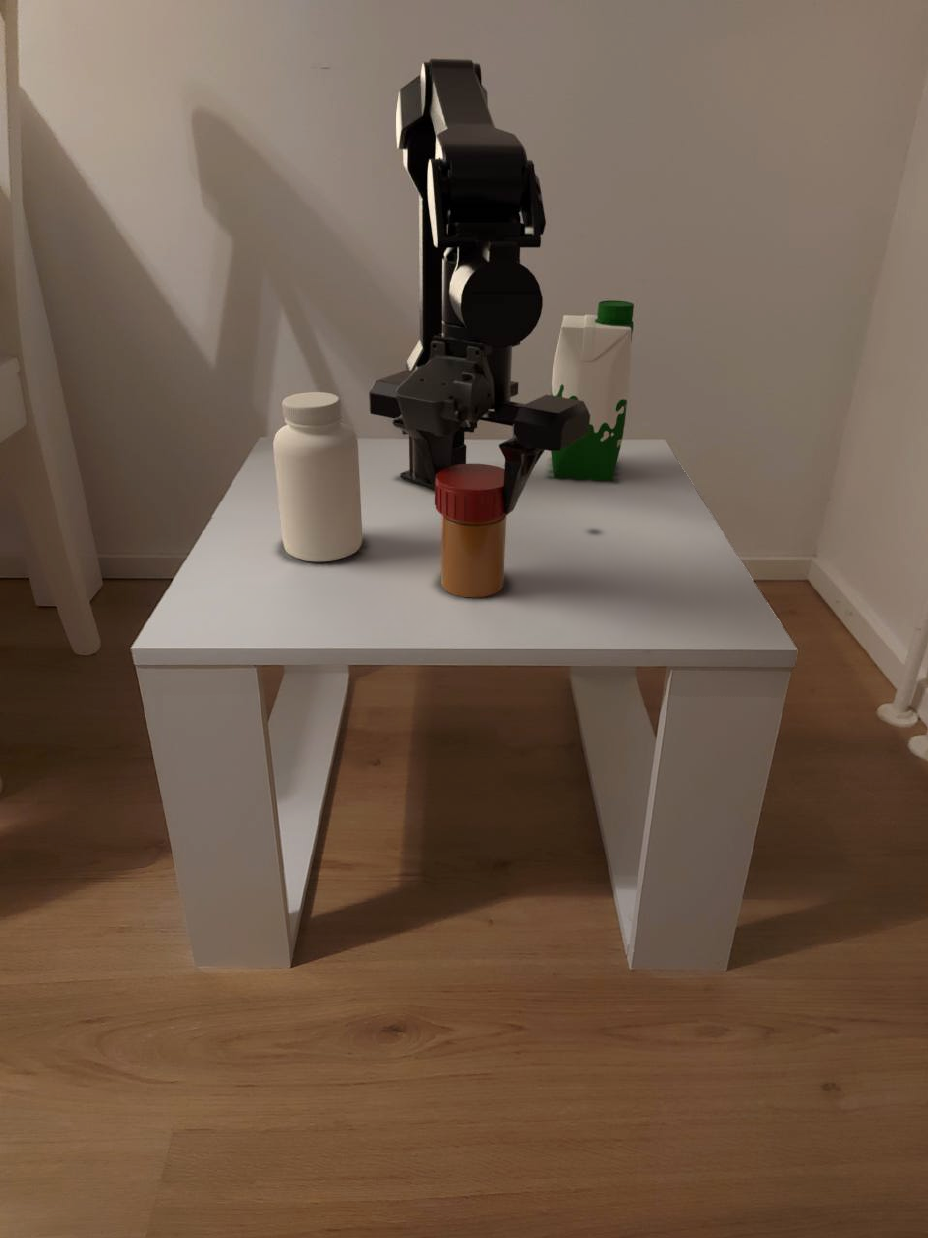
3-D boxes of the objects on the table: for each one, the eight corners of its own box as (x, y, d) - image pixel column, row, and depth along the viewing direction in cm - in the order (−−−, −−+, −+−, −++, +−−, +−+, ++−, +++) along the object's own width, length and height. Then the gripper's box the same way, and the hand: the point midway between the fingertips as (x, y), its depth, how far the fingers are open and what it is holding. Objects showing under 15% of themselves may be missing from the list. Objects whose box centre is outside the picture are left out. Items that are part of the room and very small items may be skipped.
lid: (466, 487, 81) (467, 458, 80) (527, 505, 78) (529, 474, 76) (419, 509, 77) (418, 477, 75) (482, 528, 73) (482, 496, 72)
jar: (428, 583, 81) (427, 485, 76) (469, 564, 84) (471, 469, 80) (474, 604, 77) (477, 502, 73) (516, 583, 81) (520, 485, 76)
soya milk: (619, 484, 104) (638, 310, 95) (544, 479, 105) (555, 307, 96) (618, 461, 112) (636, 297, 102) (548, 456, 113) (559, 294, 103)
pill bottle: (267, 556, 85) (251, 404, 78) (307, 526, 92) (296, 384, 85) (340, 569, 83) (330, 414, 76) (376, 537, 90) (370, 392, 82)
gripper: (321, 322, 68) (333, 509, 75) (531, 353, 59) (520, 561, 67) (405, 303, 76) (408, 473, 84) (600, 328, 67) (584, 515, 75)
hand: (473, 503), depth 77 cm, fingers closed on lid, 7 cm apart
